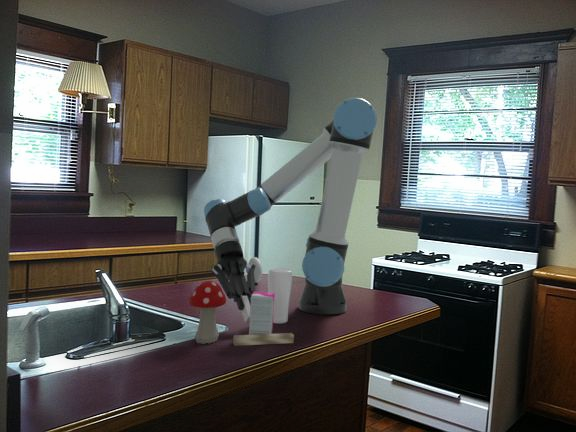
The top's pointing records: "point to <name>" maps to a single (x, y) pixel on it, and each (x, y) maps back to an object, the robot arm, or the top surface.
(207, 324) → the decorative mushroom
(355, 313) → the top surface
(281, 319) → the drinking glass
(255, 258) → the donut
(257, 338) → the bar
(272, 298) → the supplement box
